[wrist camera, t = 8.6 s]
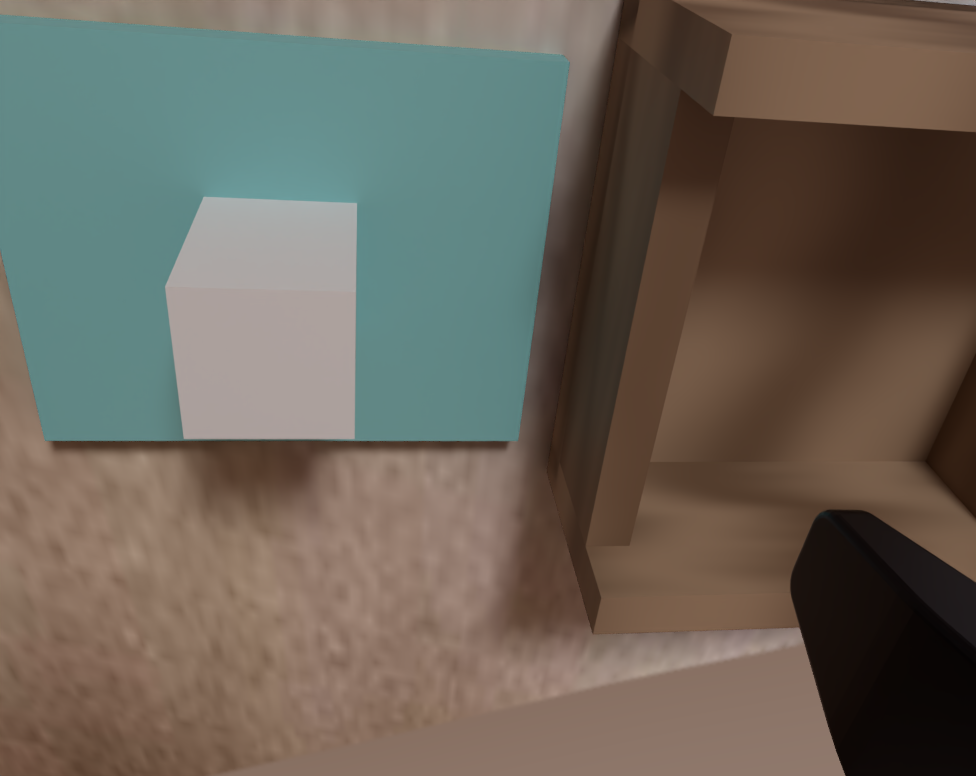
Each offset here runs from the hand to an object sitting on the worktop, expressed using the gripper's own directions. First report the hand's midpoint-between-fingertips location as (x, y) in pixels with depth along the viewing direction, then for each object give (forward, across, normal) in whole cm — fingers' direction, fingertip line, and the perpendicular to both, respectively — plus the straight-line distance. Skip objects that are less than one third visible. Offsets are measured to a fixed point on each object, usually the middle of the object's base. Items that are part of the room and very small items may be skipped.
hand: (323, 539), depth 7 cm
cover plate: (+12, +1, +3) cm, 13 cm away
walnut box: (+12, -11, +3) cm, 16 cm away
